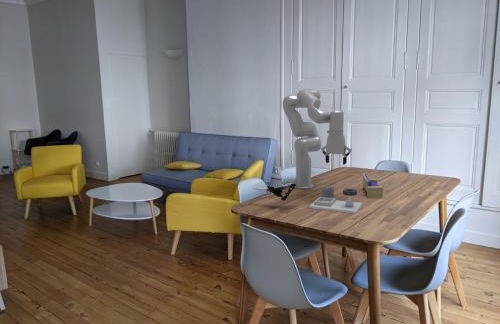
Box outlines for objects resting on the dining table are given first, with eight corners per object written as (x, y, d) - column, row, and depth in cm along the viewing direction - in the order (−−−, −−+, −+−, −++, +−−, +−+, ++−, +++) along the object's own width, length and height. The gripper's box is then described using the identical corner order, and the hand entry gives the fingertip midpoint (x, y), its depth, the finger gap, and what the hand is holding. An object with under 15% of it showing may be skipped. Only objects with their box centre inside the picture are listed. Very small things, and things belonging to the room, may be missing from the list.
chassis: (309, 208, 201) (309, 197, 200) (318, 200, 215) (318, 190, 214) (356, 213, 190) (356, 202, 189) (362, 205, 204) (362, 194, 203)
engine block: (322, 199, 216) (322, 188, 215) (325, 197, 221) (325, 185, 220) (330, 200, 214) (331, 188, 213) (333, 198, 219) (333, 186, 218)
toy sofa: (382, 198, 217) (383, 180, 215) (366, 198, 218) (367, 180, 216) (376, 189, 237) (377, 173, 235) (362, 189, 238) (362, 172, 237)
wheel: (341, 195, 197) (341, 191, 196) (344, 191, 203) (344, 188, 202) (355, 196, 194) (355, 192, 193) (357, 193, 199) (358, 189, 199)
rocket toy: (285, 189, 194) (245, 185, 205) (285, 201, 195) (245, 196, 206) (296, 183, 207) (257, 179, 218) (296, 195, 208) (258, 190, 219)
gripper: (318, 133, 213) (318, 163, 216) (349, 134, 205) (349, 165, 207) (323, 132, 220) (323, 161, 223) (353, 132, 211) (353, 163, 214)
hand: (335, 163), depth 215 cm, fingers open, 9 cm apart
